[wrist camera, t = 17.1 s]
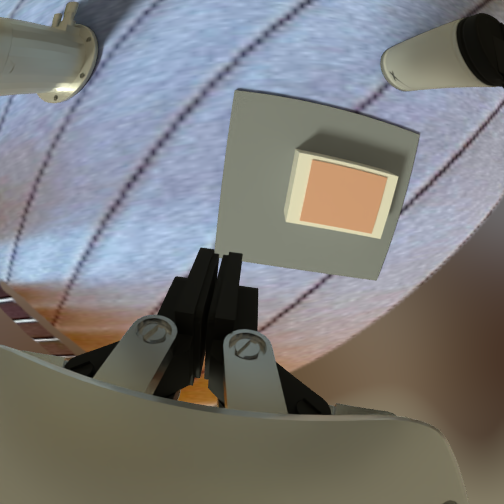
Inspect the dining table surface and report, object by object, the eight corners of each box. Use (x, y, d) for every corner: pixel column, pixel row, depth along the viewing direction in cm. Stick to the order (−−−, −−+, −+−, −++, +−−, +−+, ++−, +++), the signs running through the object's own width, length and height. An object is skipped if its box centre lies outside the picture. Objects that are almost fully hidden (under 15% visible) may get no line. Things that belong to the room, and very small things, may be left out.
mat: (235, 90, 30) (234, 90, 29) (417, 134, 30) (419, 134, 30) (214, 255, 39) (214, 256, 39) (375, 278, 40) (376, 280, 39)
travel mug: (381, 90, 28) (487, 78, 10) (377, 43, 25) (472, -3, 7) (422, 97, 28) (534, 102, 10) (418, 52, 25) (523, 28, 7)
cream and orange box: (299, 152, 28) (399, 177, 29) (295, 148, 32) (385, 170, 32) (285, 222, 32) (380, 239, 32) (283, 210, 36) (370, 226, 36)
